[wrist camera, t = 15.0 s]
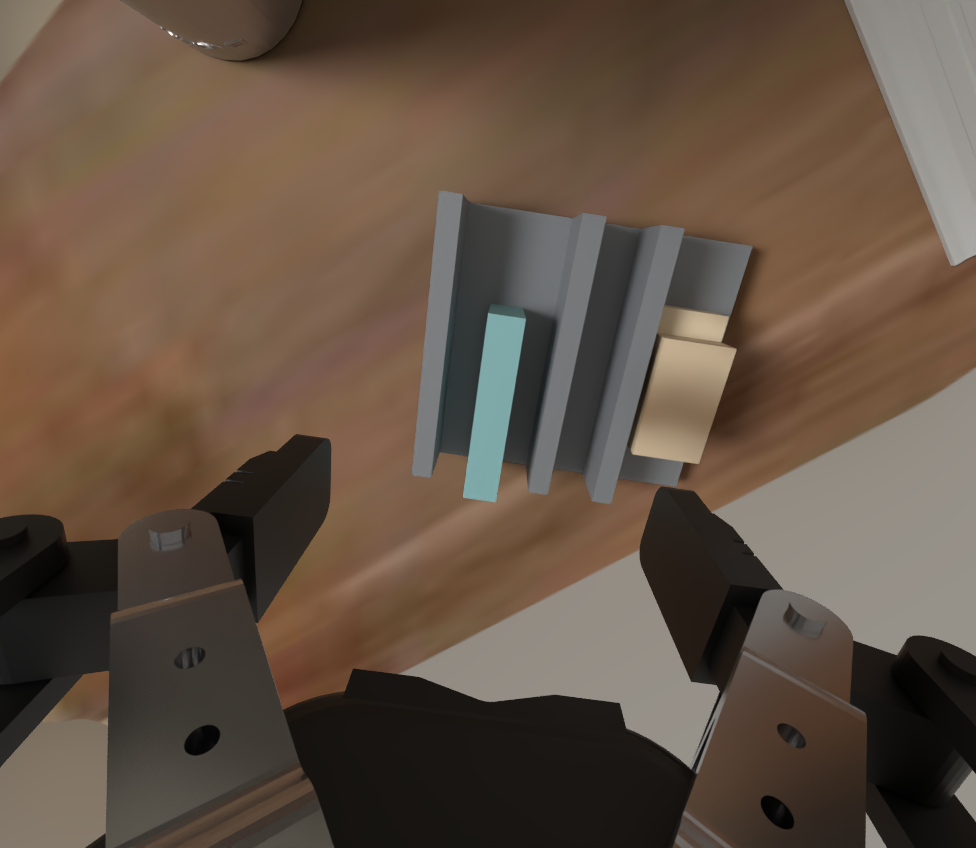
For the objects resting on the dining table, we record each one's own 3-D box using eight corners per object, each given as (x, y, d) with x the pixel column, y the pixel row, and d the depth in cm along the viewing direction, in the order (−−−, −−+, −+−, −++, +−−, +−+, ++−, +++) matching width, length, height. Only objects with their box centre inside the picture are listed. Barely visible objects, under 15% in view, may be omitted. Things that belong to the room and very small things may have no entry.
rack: (443, 200, 29) (429, 189, 23) (740, 246, 29) (791, 245, 24) (419, 440, 34) (403, 473, 29) (669, 477, 34) (697, 516, 29)
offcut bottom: (650, 302, 29) (660, 306, 27) (714, 312, 29) (729, 316, 27) (619, 423, 31) (626, 434, 30) (678, 432, 32) (688, 443, 30)
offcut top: (654, 332, 27) (664, 338, 25) (721, 342, 27) (736, 348, 26) (624, 441, 30) (633, 454, 28) (686, 450, 30) (698, 464, 28)
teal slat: (488, 313, 24) (462, 497, 28) (526, 318, 24) (495, 502, 28) (491, 303, 29) (469, 462, 33) (522, 308, 29) (497, 466, 33)
